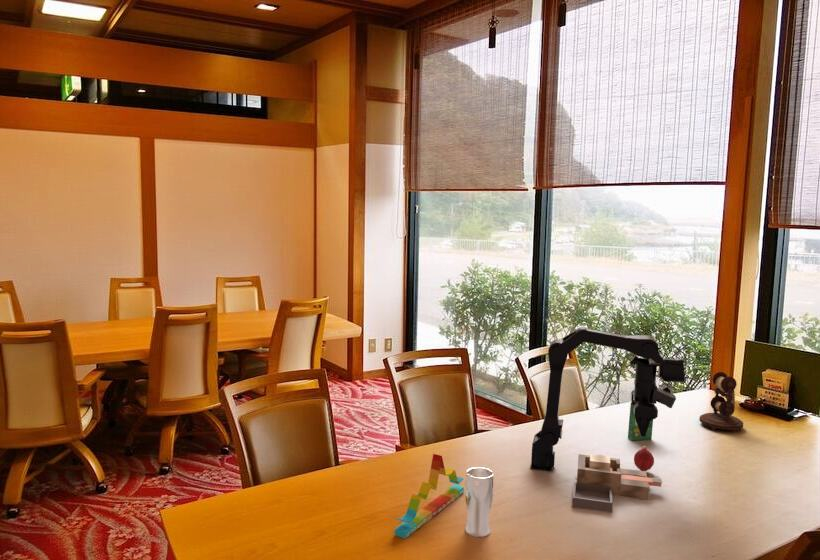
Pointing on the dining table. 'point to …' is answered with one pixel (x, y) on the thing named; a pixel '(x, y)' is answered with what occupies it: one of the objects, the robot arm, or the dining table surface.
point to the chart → (419, 518)
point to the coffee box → (634, 430)
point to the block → (599, 462)
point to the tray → (592, 497)
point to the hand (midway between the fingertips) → (641, 431)
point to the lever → (642, 479)
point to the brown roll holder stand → (723, 405)
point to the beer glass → (478, 500)
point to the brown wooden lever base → (613, 478)
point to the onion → (643, 459)
